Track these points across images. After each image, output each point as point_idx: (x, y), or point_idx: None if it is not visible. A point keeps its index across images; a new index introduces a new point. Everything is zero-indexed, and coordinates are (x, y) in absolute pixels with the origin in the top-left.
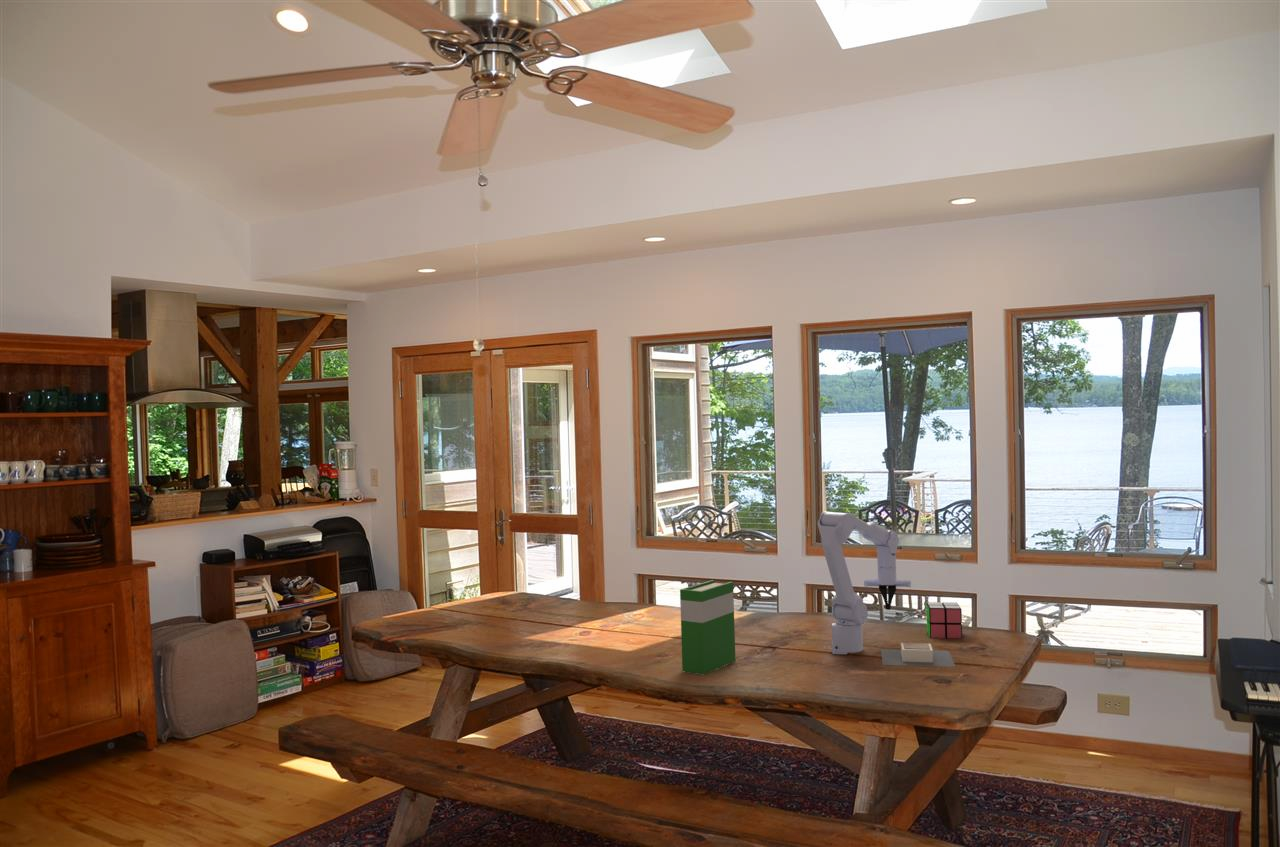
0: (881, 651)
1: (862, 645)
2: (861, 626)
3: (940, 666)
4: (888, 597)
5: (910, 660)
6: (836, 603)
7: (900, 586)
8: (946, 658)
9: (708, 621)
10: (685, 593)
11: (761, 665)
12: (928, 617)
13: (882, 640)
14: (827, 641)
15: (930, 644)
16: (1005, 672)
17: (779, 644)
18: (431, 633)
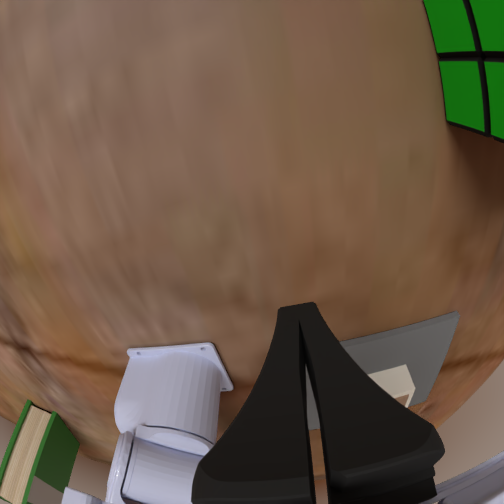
0: None
1: (220, 387)
2: (215, 441)
3: None
4: (320, 430)
5: None
6: (132, 500)
7: (465, 475)
8: (430, 370)
9: (60, 491)
10: None
11: (97, 428)
12: (496, 80)
13: (247, 205)
14: (69, 279)
15: (413, 393)
16: (486, 374)
17: (16, 328)
18: None
